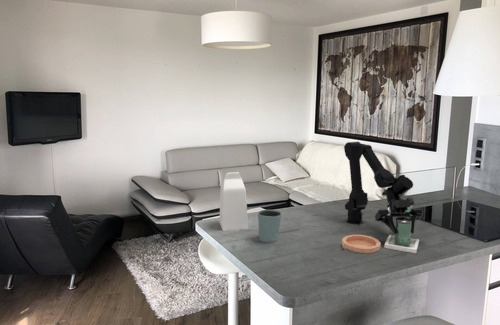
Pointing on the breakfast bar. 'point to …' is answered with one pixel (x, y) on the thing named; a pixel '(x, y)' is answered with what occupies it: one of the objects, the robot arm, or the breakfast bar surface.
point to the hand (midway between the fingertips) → (404, 233)
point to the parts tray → (412, 248)
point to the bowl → (361, 243)
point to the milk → (233, 203)
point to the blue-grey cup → (269, 225)
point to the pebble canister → (403, 232)
